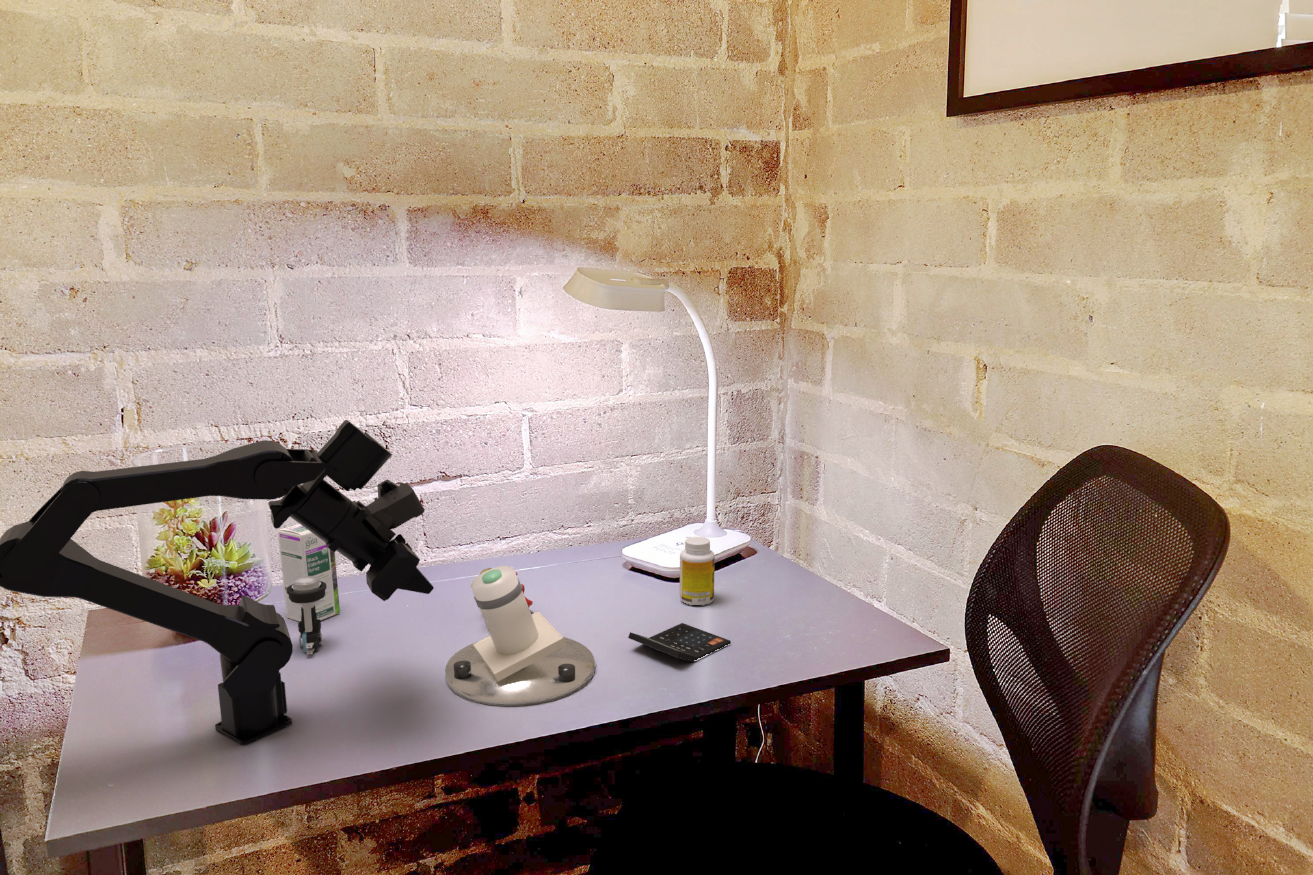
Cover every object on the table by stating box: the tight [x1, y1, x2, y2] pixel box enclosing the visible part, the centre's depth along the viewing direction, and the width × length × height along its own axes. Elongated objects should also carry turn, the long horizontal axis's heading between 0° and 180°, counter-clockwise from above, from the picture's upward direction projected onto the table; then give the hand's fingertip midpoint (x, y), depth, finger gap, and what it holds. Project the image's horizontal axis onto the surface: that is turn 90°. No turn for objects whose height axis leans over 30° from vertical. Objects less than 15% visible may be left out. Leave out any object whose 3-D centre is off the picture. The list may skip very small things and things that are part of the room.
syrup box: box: [277, 523, 341, 623], centre depth 145 cm, size 6×6×14 cm
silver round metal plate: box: [444, 636, 596, 707], centre depth 128 cm, size 20×20×3 cm
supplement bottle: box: [679, 536, 716, 606], centre depth 152 cm, size 6×6×10 cm
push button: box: [286, 576, 327, 655], centre depth 134 cm, size 7×5×10 cm
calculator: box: [627, 622, 732, 663], centre depth 135 cm, size 9×12×3 cm
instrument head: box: [470, 565, 566, 682], centre depth 126 cm, size 10×10×12 cm
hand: (430, 590), depth 120 cm, fingers closed
